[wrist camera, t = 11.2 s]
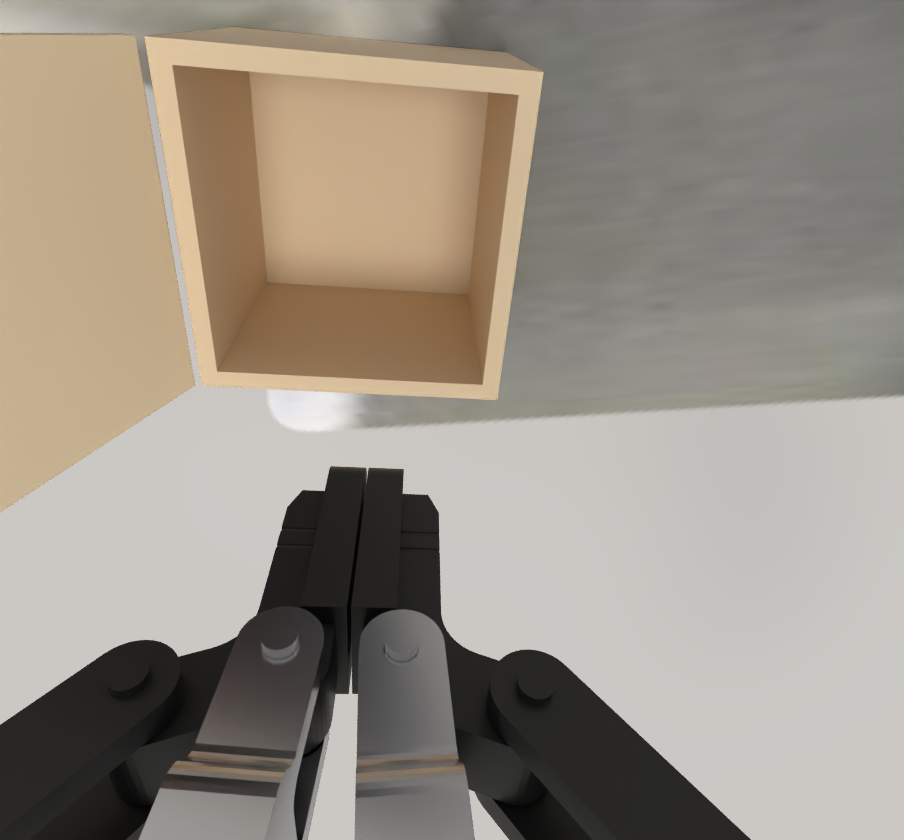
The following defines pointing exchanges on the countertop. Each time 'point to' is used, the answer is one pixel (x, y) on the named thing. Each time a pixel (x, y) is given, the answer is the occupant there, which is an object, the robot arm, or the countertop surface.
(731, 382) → the countertop surface
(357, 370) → the carton
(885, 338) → the countertop surface
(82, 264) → the lid flap
